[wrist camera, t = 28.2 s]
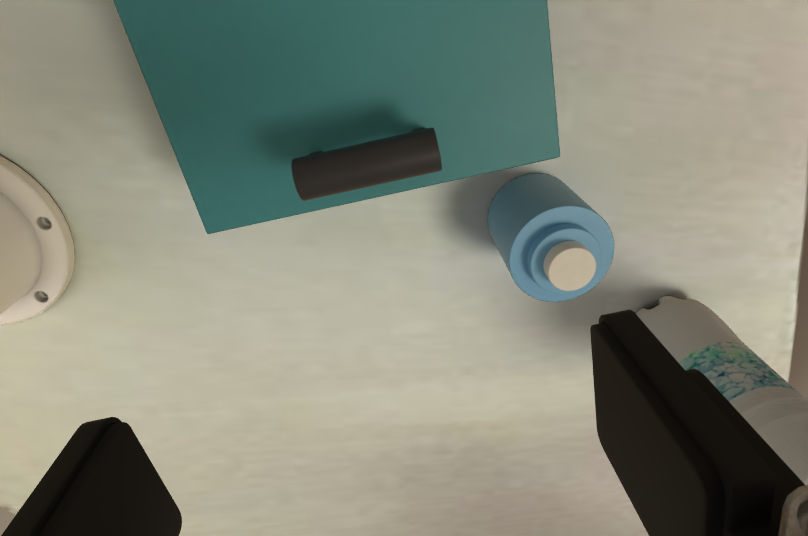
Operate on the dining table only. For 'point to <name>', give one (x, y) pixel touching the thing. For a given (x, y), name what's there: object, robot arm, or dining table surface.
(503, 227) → the water bottle
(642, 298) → the dining table surface
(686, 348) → the bottle
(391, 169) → the lid
